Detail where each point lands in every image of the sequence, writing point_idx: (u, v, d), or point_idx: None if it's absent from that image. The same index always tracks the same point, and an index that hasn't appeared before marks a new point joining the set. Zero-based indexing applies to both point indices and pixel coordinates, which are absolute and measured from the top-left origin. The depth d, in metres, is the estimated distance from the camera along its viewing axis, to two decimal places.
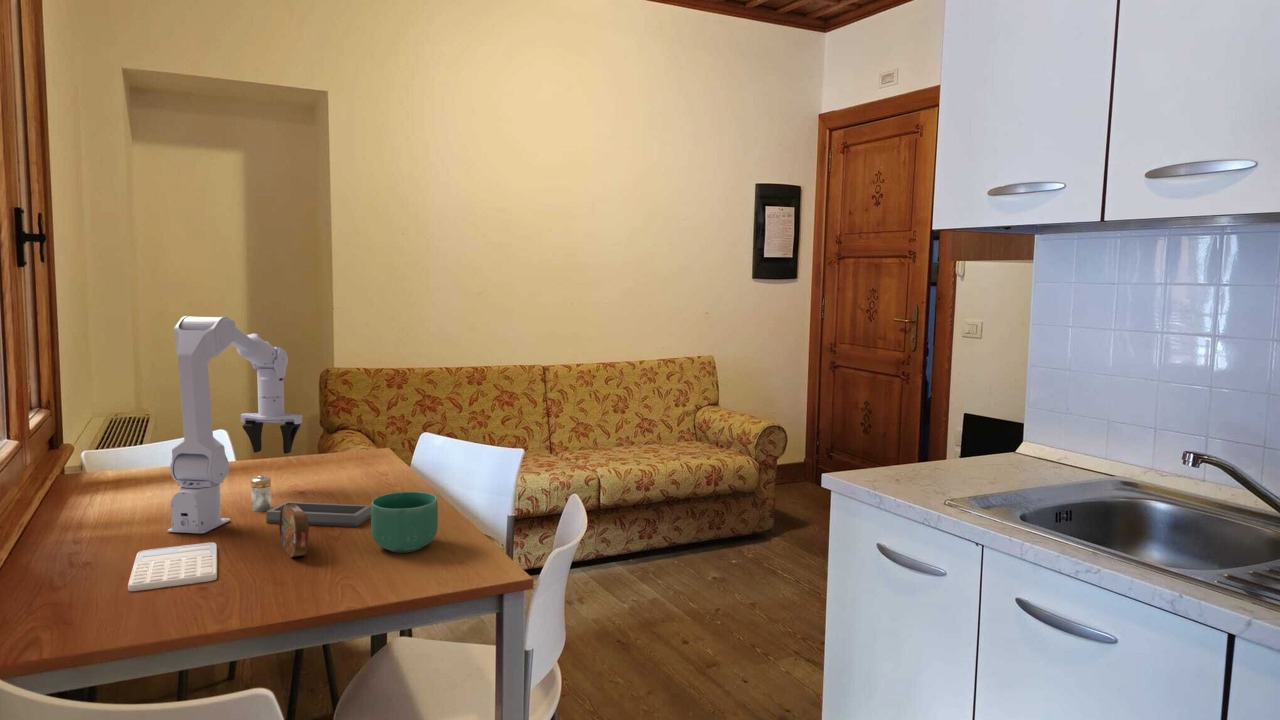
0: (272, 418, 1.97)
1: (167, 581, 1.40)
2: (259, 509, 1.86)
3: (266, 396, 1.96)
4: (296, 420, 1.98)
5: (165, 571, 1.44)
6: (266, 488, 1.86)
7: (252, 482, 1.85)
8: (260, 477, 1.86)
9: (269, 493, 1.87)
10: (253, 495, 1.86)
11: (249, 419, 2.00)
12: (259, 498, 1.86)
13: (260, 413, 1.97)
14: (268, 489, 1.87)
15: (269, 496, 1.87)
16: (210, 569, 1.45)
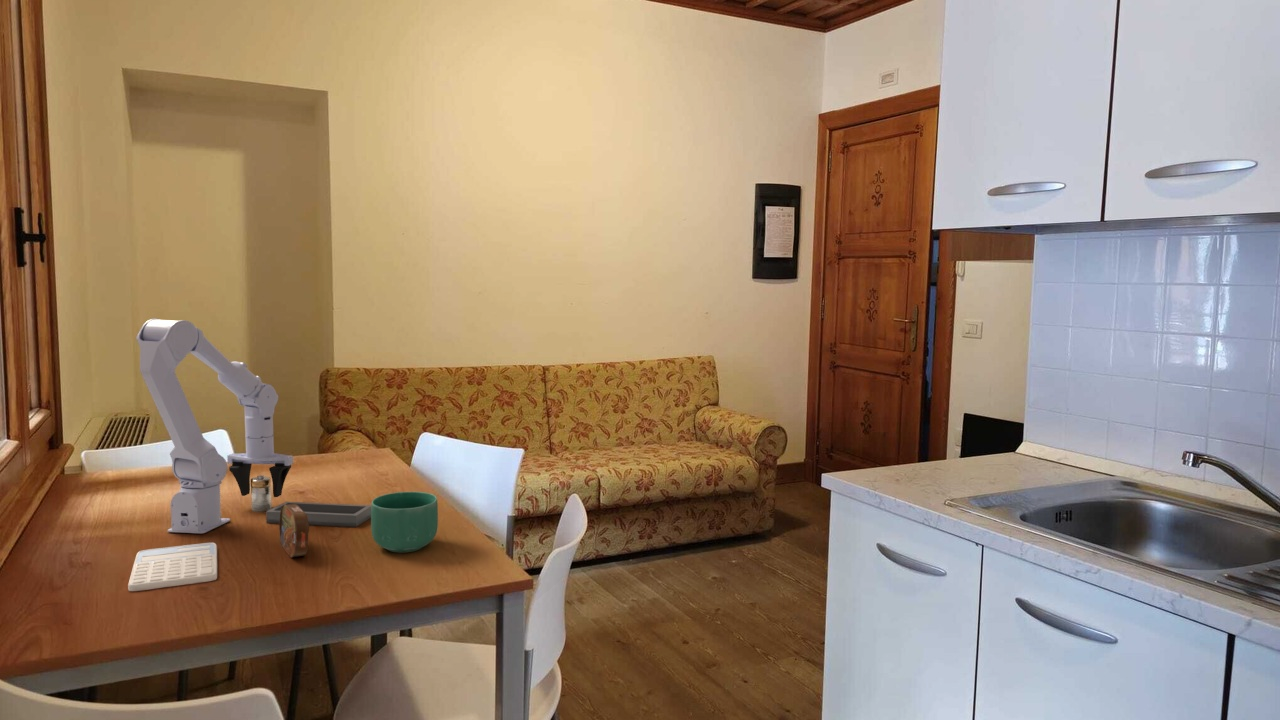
0: (261, 460, 1.84)
1: (167, 581, 1.40)
2: (259, 509, 1.86)
3: (250, 436, 1.83)
4: (287, 461, 1.85)
5: (165, 571, 1.44)
6: (266, 488, 1.86)
7: (252, 482, 1.85)
8: (260, 477, 1.86)
9: (269, 493, 1.87)
10: (253, 495, 1.86)
11: (236, 460, 1.87)
12: (259, 498, 1.86)
13: (248, 454, 1.84)
14: (268, 489, 1.87)
15: (269, 496, 1.87)
16: (210, 569, 1.45)
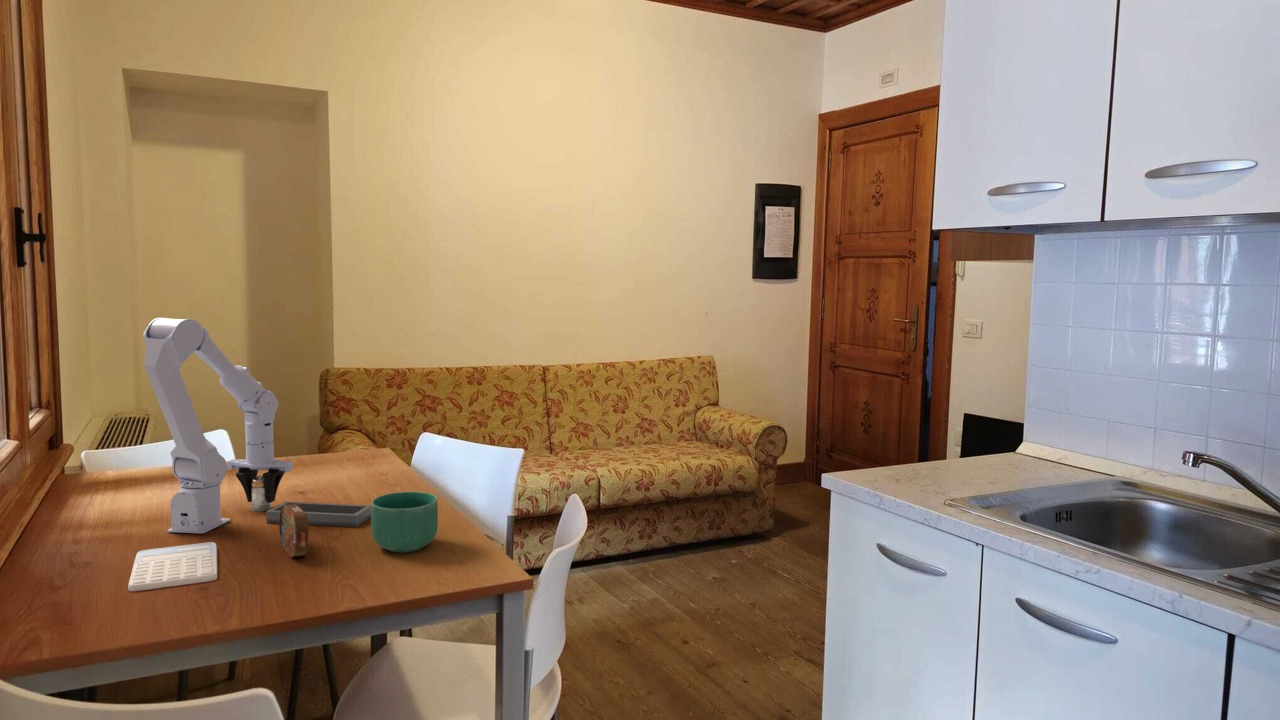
0: (261, 466, 1.84)
1: (167, 581, 1.40)
2: (259, 509, 1.86)
3: (250, 442, 1.84)
4: (287, 468, 1.85)
5: (165, 571, 1.44)
6: None
7: (252, 482, 1.85)
8: (260, 477, 1.86)
9: None
10: (253, 495, 1.86)
11: (236, 466, 1.87)
12: (259, 498, 1.86)
13: (248, 460, 1.84)
14: None
15: None
16: (210, 569, 1.45)
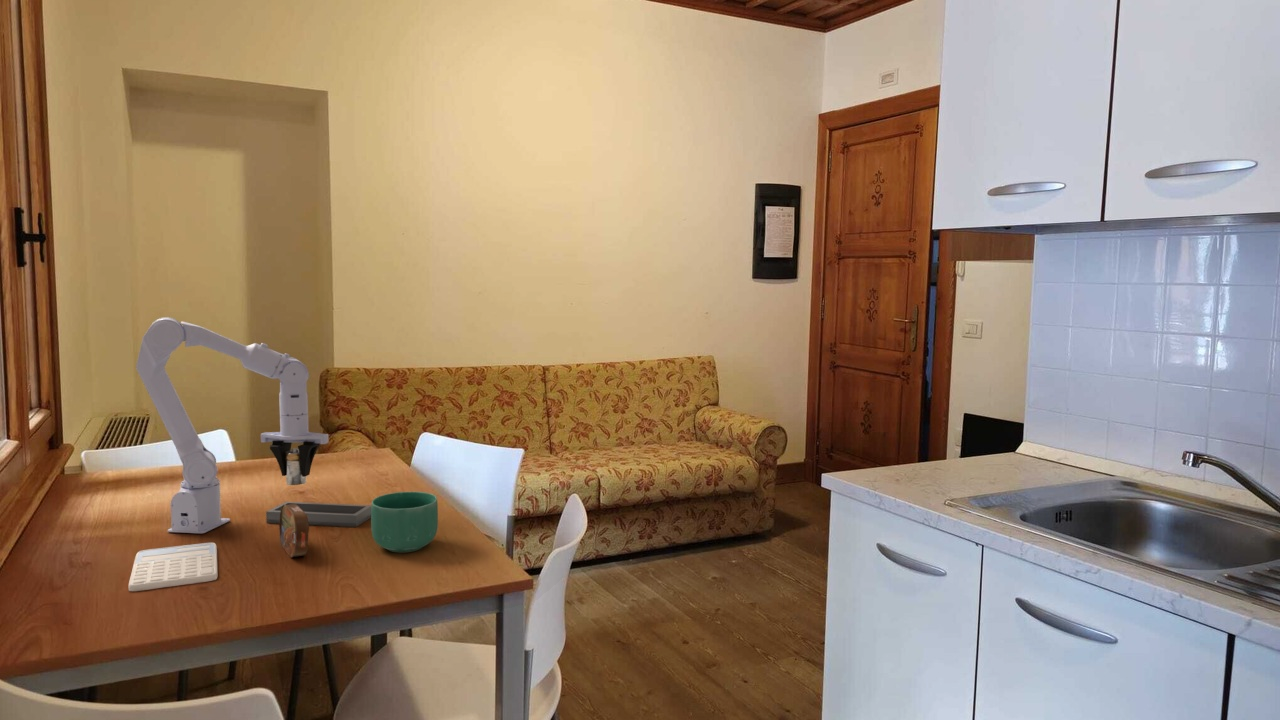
0: (296, 438, 1.79)
1: (168, 581, 1.40)
2: (295, 483, 1.81)
3: (280, 413, 1.79)
4: (322, 440, 1.80)
5: (165, 571, 1.44)
6: None
7: (287, 455, 1.80)
8: (295, 450, 1.81)
9: None
10: (288, 468, 1.81)
11: (270, 439, 1.82)
12: (295, 471, 1.81)
13: (282, 432, 1.79)
14: None
15: None
16: (211, 569, 1.45)
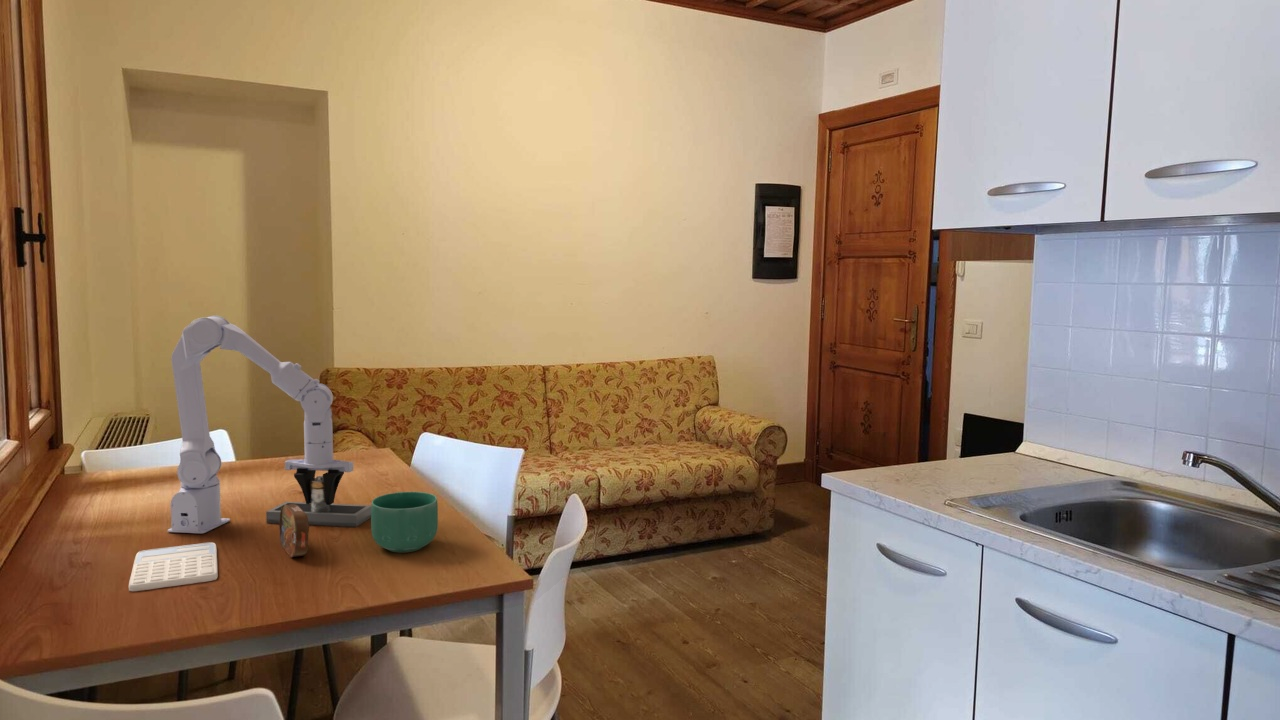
0: (320, 466, 1.76)
1: (168, 581, 1.40)
2: (319, 511, 1.78)
3: (304, 440, 1.77)
4: (347, 468, 1.77)
5: (165, 571, 1.44)
6: None
7: (312, 483, 1.78)
8: (320, 478, 1.79)
9: None
10: (313, 497, 1.78)
11: (294, 466, 1.79)
12: (319, 500, 1.78)
13: (307, 460, 1.76)
14: None
15: None
16: (211, 569, 1.45)
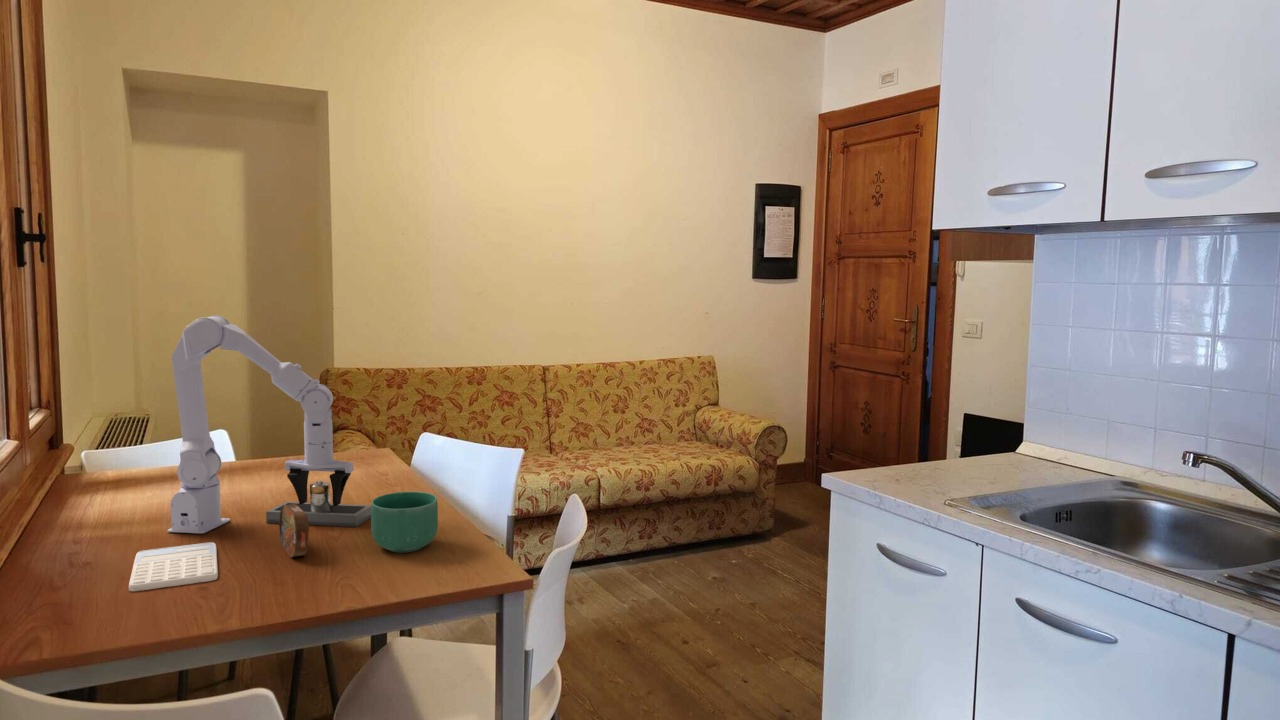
0: (320, 467, 1.76)
1: (168, 581, 1.40)
2: None
3: (304, 440, 1.77)
4: (347, 469, 1.77)
5: (165, 571, 1.44)
6: (327, 494, 1.79)
7: (312, 488, 1.78)
8: (320, 482, 1.79)
9: (329, 499, 1.80)
10: (313, 501, 1.78)
11: (294, 467, 1.79)
12: (319, 505, 1.78)
13: (307, 461, 1.76)
14: (328, 495, 1.79)
15: (329, 502, 1.80)
16: (211, 569, 1.45)
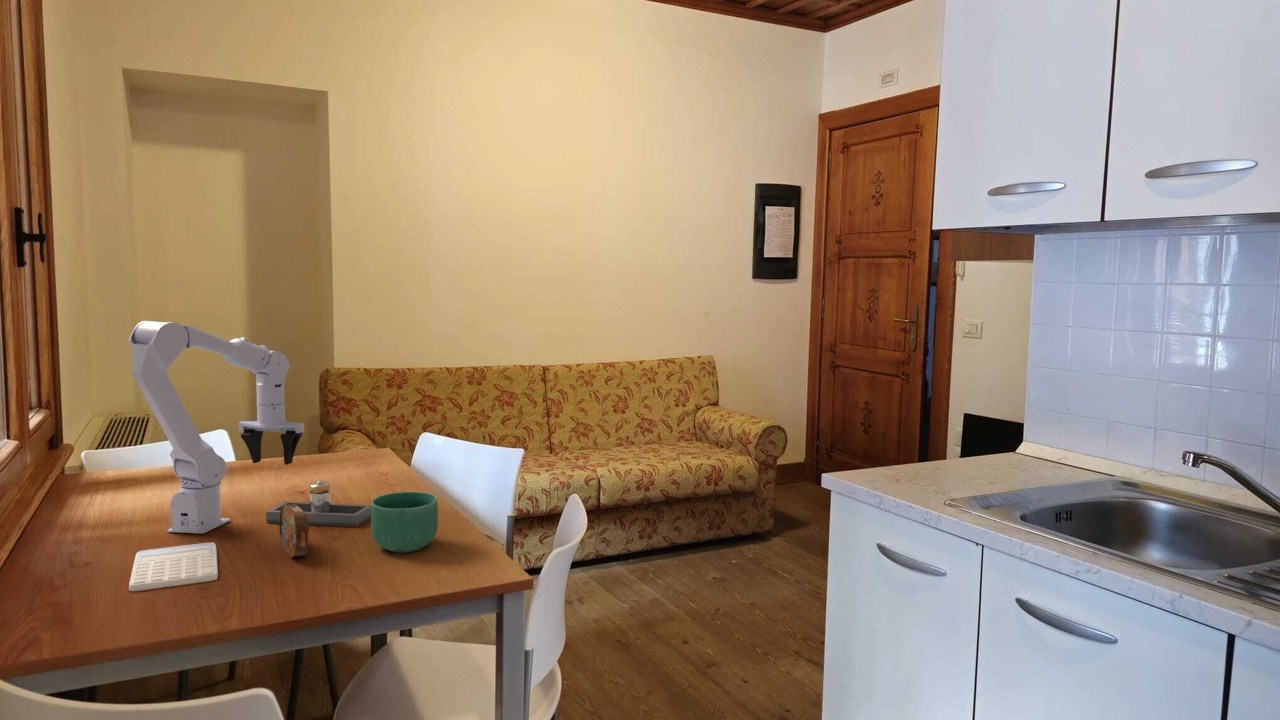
0: (272, 427, 1.84)
1: (168, 581, 1.40)
2: None
3: (261, 403, 1.84)
4: (298, 429, 1.85)
5: (166, 571, 1.44)
6: (327, 494, 1.79)
7: (312, 488, 1.78)
8: (320, 482, 1.79)
9: (329, 499, 1.80)
10: (313, 501, 1.78)
11: (248, 427, 1.88)
12: (319, 504, 1.78)
13: (259, 421, 1.85)
14: (328, 495, 1.79)
15: (329, 502, 1.80)
16: (211, 569, 1.45)
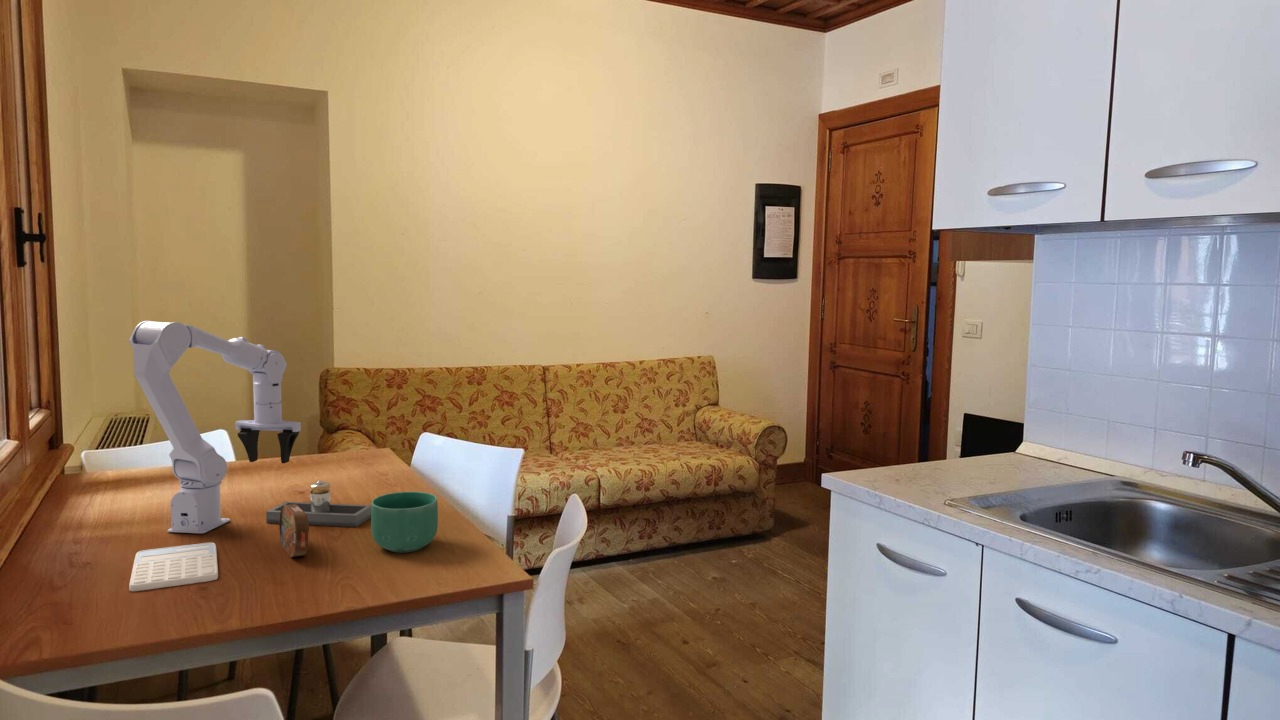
0: (269, 426, 1.85)
1: (168, 581, 1.40)
2: None
3: (258, 402, 1.85)
4: (294, 428, 1.86)
5: (166, 571, 1.44)
6: (327, 494, 1.79)
7: (312, 488, 1.78)
8: (320, 483, 1.79)
9: (329, 499, 1.80)
10: (313, 501, 1.78)
11: (244, 427, 1.88)
12: (319, 505, 1.78)
13: (256, 420, 1.85)
14: (328, 495, 1.79)
15: (329, 502, 1.80)
16: (211, 569, 1.45)
